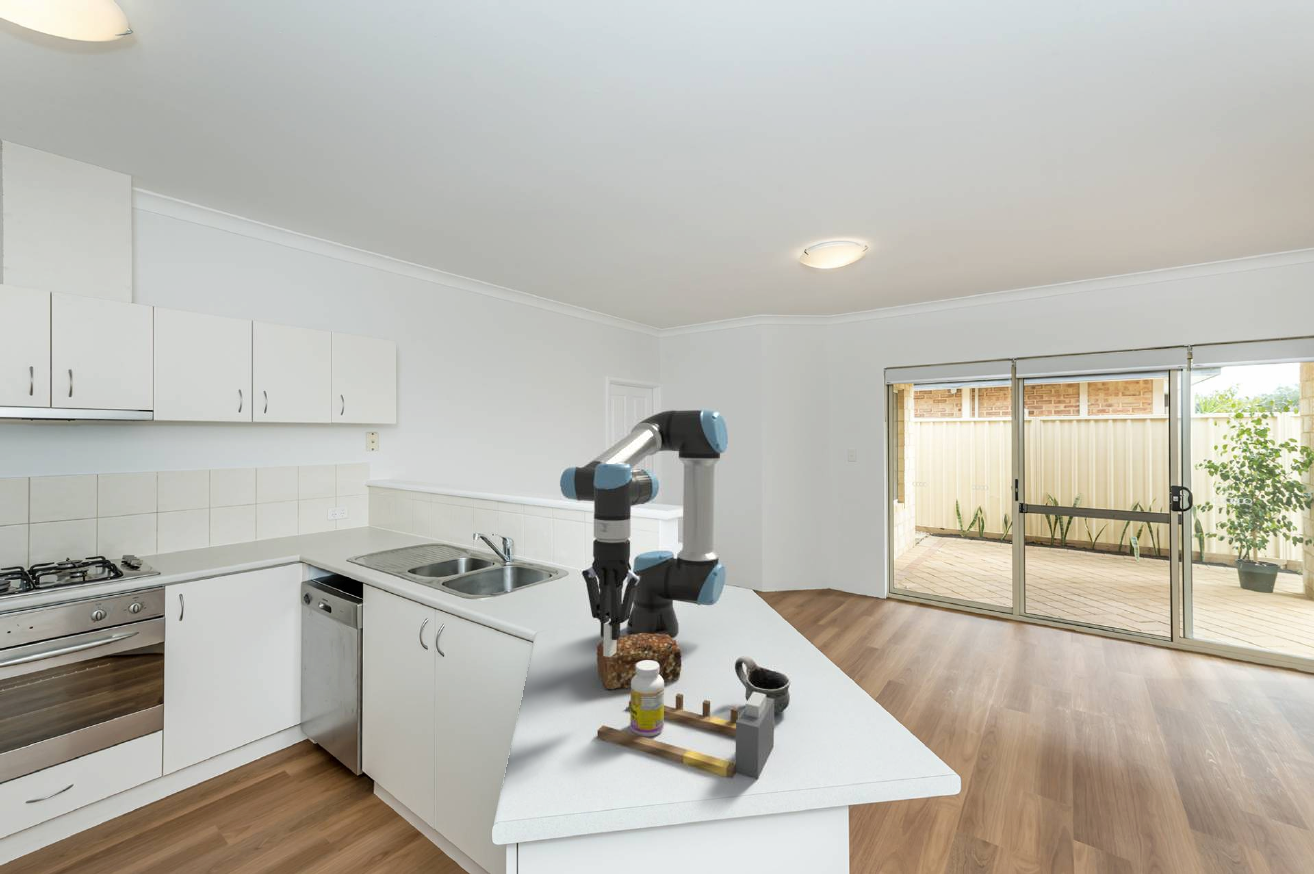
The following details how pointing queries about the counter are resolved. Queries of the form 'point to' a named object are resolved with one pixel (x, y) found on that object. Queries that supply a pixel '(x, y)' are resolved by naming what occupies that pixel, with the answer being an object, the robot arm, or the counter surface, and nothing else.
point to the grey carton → (754, 735)
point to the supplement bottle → (647, 700)
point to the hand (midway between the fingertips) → (609, 654)
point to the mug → (764, 682)
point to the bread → (638, 658)
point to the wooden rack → (679, 753)
